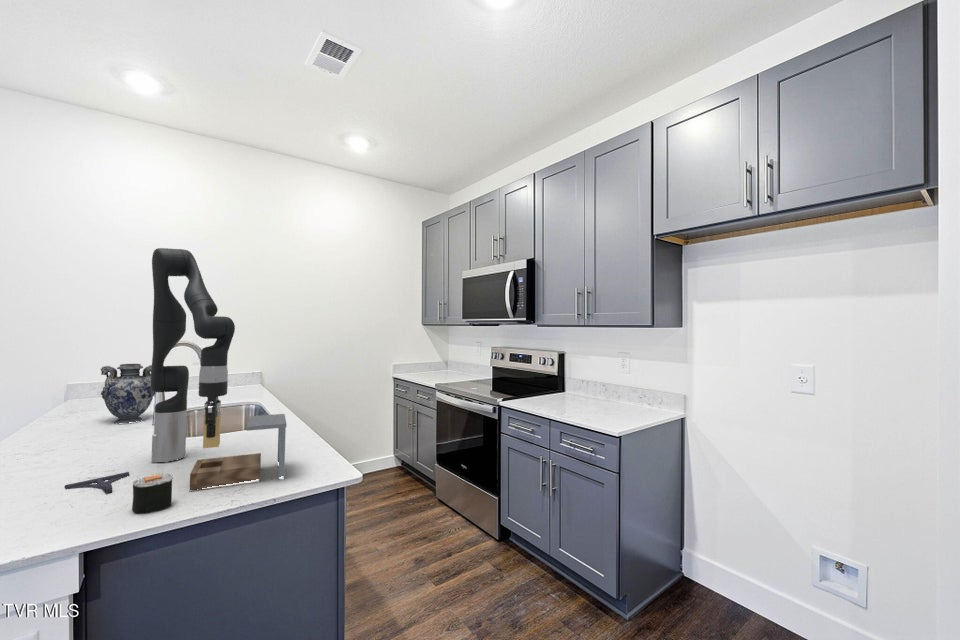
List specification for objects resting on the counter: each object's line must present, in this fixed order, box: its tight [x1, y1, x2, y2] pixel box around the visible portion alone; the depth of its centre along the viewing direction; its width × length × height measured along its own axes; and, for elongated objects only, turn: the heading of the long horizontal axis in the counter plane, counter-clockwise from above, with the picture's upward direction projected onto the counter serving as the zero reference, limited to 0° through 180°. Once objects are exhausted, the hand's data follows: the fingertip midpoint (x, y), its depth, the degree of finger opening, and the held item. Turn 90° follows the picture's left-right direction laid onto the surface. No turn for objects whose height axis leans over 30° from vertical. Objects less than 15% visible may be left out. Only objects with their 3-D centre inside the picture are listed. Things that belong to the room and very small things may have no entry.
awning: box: [246, 413, 287, 477], centre depth 135 cm, size 11×16×18 cm
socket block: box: [189, 452, 262, 491], centre depth 130 cm, size 18×14×5 cm
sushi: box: [131, 473, 174, 515], centre depth 109 cm, size 8×8×8 cm
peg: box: [202, 411, 222, 449], centre depth 128 cm, size 4×4×10 cm
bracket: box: [64, 471, 130, 495], centre depth 121 cm, size 14×15×3 cm
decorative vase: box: [100, 363, 156, 424], centre depth 201 cm, size 21×19×28 cm
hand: (211, 435), depth 128 cm, fingers closed on peg, 4 cm apart
